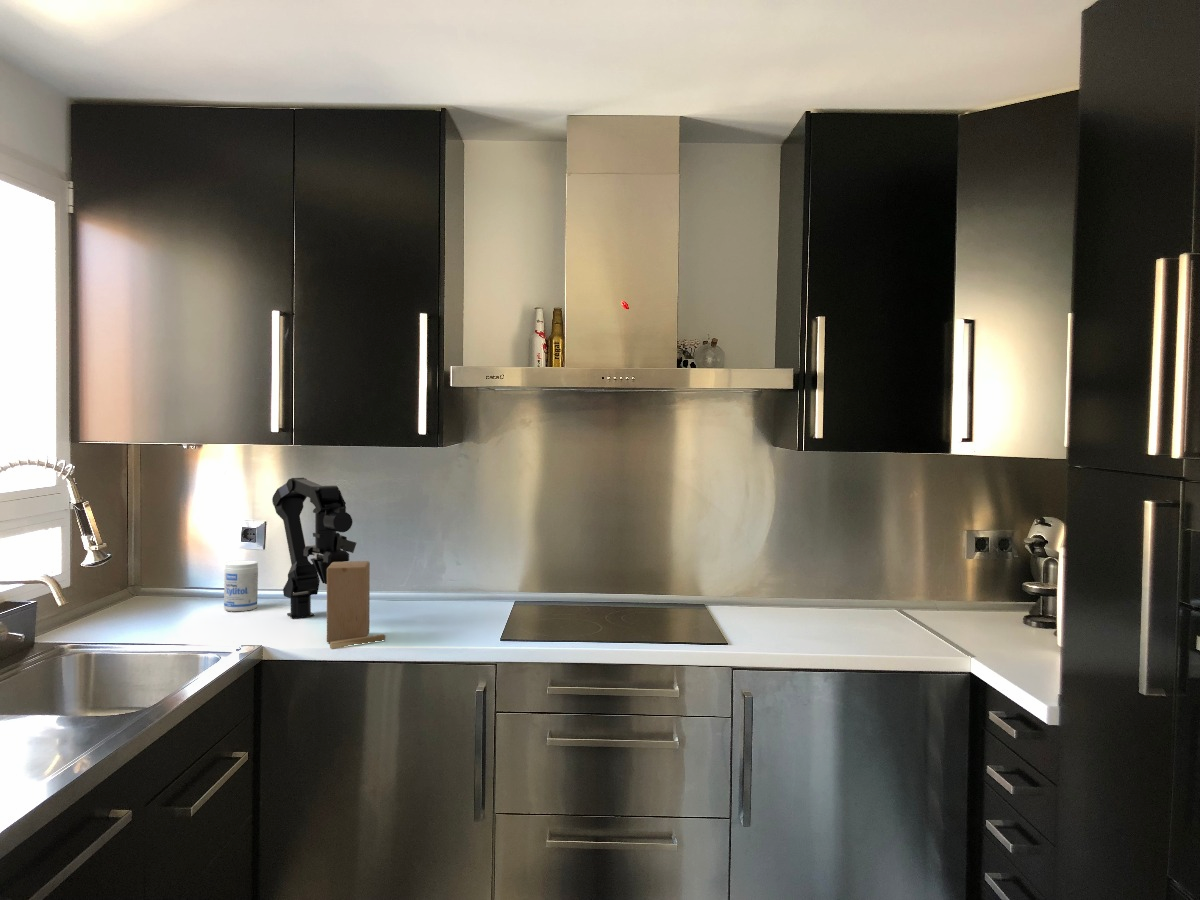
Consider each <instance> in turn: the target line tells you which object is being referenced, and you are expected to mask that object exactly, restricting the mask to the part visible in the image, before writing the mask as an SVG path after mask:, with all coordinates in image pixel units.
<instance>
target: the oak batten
mask: <svg viewBox="0 0 1200 900" xmlns="http://www.w3.org/2000/svg"><path fill="white" fill-rule="evenodd" d="M382 640H385V641H386V635H385V634H383V633H382V634H375V635H368V636H367V637H360V638H353V639H346V640H339V641H332V642H330V643H329V648H330V649H331V650H334V649H340V648H341V649H343V648H345V647H344V646H348V645H354V644H362V643H368V642H375V641H382ZM382 642H383V641H382ZM375 643H376V642H375ZM368 644H369V643H368ZM362 645H363V644H362ZM348 647H349V646H348Z"/></svg>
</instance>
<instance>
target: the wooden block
mask: <svg viewBox="0 0 1200 900" xmlns="http://www.w3.org/2000/svg"><path fill="white" fill-rule="evenodd" d="M370 569H371V568H370V561H369V560H362V561H361V560H358V561H357V560H356V561H353V560H352V561H344V562H332V563H331V564H330V566H329V567H328V568H327V584H326V643H327V642H332V641H339V640H346V639H353V638H360V637H367V636H369V634H370V599H371V598H370V594H371V593H370V585H371V584H370V576H371V575H370Z"/></svg>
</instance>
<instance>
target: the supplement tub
mask: <svg viewBox="0 0 1200 900" xmlns="http://www.w3.org/2000/svg"><path fill="white" fill-rule="evenodd" d="M224 565H225V566H224V584H223V585H224V589H223V590H224V591H223V594H224V595H223V596H224V597H223V608H224V610H225V611H228V612H232V611H241V612H248V611H247V610H249V611H252V609H253V610H255V609H256V608H257V607H258V598H259V597H258V593H259V592H258V588H259V587H258V585H259V566H258V565H259V563H258V561H256V560H234V561H228V562H226V563H225V564H224Z"/></svg>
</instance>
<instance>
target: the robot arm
mask: <svg viewBox="0 0 1200 900" xmlns="http://www.w3.org/2000/svg"><path fill="white" fill-rule="evenodd" d="M307 498H309V503H311V504H312V505H313V506H314V507H315V508H313V510H312V513H313V514H315V516H314V517H315V521H314V522H315V526H314V527H315V531H314V532H312V537H314V539H315V541H314V543H315V544H313V545H307V546H306V543H305V542H306V541H305V537H304V532H303V526H302V525H303V524H302V521H301V513H302V511H303V510H304V503H305V501H306V500H307ZM271 500H272V501H271V502H272V505H273V507H274V511H275V512H276V513H275V514H277V516H278V517H279V518H281V520H282V521H283V525H284V532H285V537H286V540H287V548H288V553H289V557H290V564H291V566H290V569H289V571H288V573H287V581H286V583H285V585H284V587H283V589H282V593H283V597H285V598H288V599H290V612H287V613H286V616H288V617H289V616H290V617H289V618H291V619H292V618H293V619H299V618H298V617H302V618H308V617H307V616H310V617H314V616H315V614H314V613H313V612H311V611H312V609H311V608H312V605H311V604H312V600H311V599H312V598H311V597H312V596H313V595H315V596H316V595H318V594H319V593H318V592H319V588H320V583H321V582H322V584H325V585H327V568H328V567H329V566H330V564H331V563H332V562H350V553H352V554H354V553H355V549H356V546H357V542H355V541H351V540H349V539H348V537H347V536H345V535H342V534H341V533H346V532H348V531H349V530H350V529H351V527H352V526H353V518H352V516H351V514H350V513H348V512H347V511H346V510H347V506H346V501H345V499H344V497H343V495H342V492H341V490H340V489H339V487H338V486H337V485H321V484H319V483H316V482H313V481H311V480H309V479H307V478H305V477H291V478H289V479H288V480H287V481H286V483H284V484H283V485H282V486H280V487H278V488H277V489H276V491H275V492H274V493H273V495H272V499H271ZM310 556H312V557H313V558H310V561H311V562H310V561H309V557H310ZM320 581H321V582H320Z"/></svg>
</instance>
